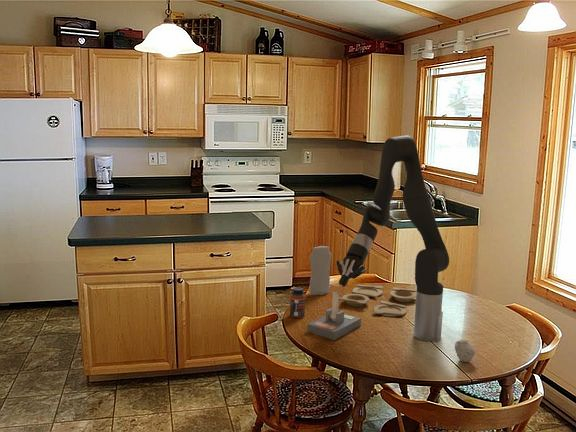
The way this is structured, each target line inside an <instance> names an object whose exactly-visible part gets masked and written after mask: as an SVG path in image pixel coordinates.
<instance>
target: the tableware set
mask: <svg viewBox="0 0 576 432" xmlns="http://www.w3.org/2000/svg"><path fill="white" fill-rule="evenodd" d="M355 286H356V287H354V288H352V291H351V293H347V294H345V295H342V297H339V301H342V302H344V303H346V304H347V306H351V307H356V308H358V307H363V306H364V305H365V304H367V303H369V302H370V298H378V297H380V296H382V295H383V290H381V289H384V286H383V285H365V284H356V285H355ZM391 289H392V290H391V291H390V292H389V294H390V296H391V297H393V298H394V301H397V302H400V303H410V302H411V301H413V300H412V299H416V292H417V289H411V288H402V287H396V286H395V287H392V288H391ZM379 303H380V304H377V305H375V306H374V307H373V311H372V312H373V313H372V314H375V315H380V316H384V317H392V318H393V317H400V316H404V315H406V312H407V310H406V309H407V307H408V306H406V305H404V304H399V303H394V302H391V301H390V302H389V301H385V300H379Z"/></svg>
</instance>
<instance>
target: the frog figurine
mask: <svg viewBox="0 0 576 432" xmlns="http://www.w3.org/2000/svg"><path fill="white" fill-rule="evenodd" d="M454 350H455V353H456V357H457V358H458V360H459V361H461V362H463V363H469V362H470V361H472V360H473V357H475V353H476V352H475V348H474V347H473V345H472V344H471V343H469V341H468V339H460V340H458V341H456V342H455V343H454Z"/></svg>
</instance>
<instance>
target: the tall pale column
mask: <svg viewBox="0 0 576 432" xmlns="http://www.w3.org/2000/svg"><path fill="white" fill-rule="evenodd" d="M331 262H332V252H330V247H329V246H325V245H319V246H316V247H312V252H311V253H310V255H309V263H310V279H309V296H323V295H326V294H330V284H331V281H330V280H331V277H330V272H331V271H330V268H331Z"/></svg>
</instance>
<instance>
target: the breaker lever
mask: <svg viewBox="0 0 576 432" xmlns="http://www.w3.org/2000/svg"><path fill="white" fill-rule="evenodd" d="M329 292H332V302H331V303H332V305H331V306H332V307H331V308H332V313H331V315H330V319H331V320H334V321H336V313H338V312H339V302H340V300H339V298H340V297H339V296H340V295H339V293H341V292H343V287H342V285H340V284H339V283H336V282H332V283H330V288H329Z"/></svg>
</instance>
